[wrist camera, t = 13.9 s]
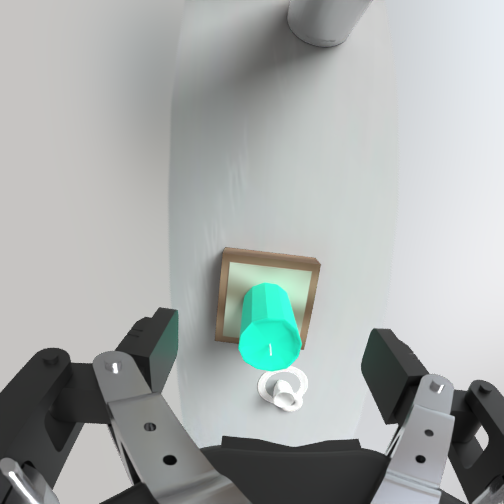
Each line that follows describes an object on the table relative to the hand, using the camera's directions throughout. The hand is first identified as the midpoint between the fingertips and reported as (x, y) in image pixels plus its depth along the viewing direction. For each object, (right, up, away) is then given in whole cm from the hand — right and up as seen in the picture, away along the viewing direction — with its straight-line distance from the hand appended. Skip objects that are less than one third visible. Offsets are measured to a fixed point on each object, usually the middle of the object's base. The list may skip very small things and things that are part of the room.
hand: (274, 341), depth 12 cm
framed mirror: (+1, -2, +30) cm, 30 cm away
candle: (+1, -3, +26) cm, 27 cm away
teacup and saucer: (+2, -20, +34) cm, 40 cm away
